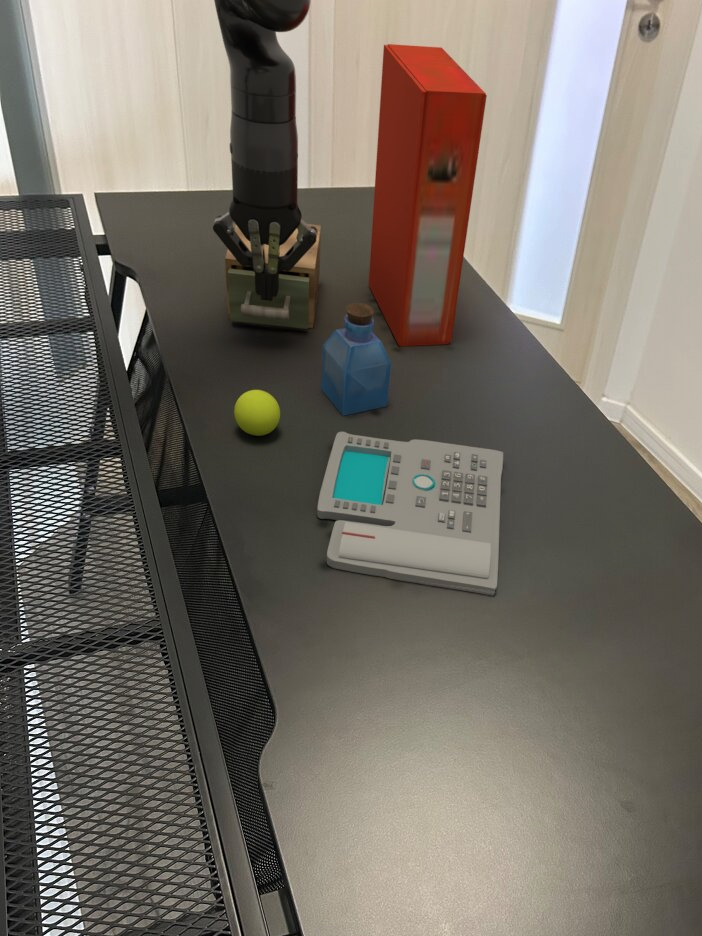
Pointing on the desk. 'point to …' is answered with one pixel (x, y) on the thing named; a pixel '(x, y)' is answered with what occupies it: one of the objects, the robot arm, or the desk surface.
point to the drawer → (281, 311)
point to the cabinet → (304, 265)
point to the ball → (257, 412)
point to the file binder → (423, 190)
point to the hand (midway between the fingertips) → (267, 297)
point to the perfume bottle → (356, 364)
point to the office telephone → (414, 511)
